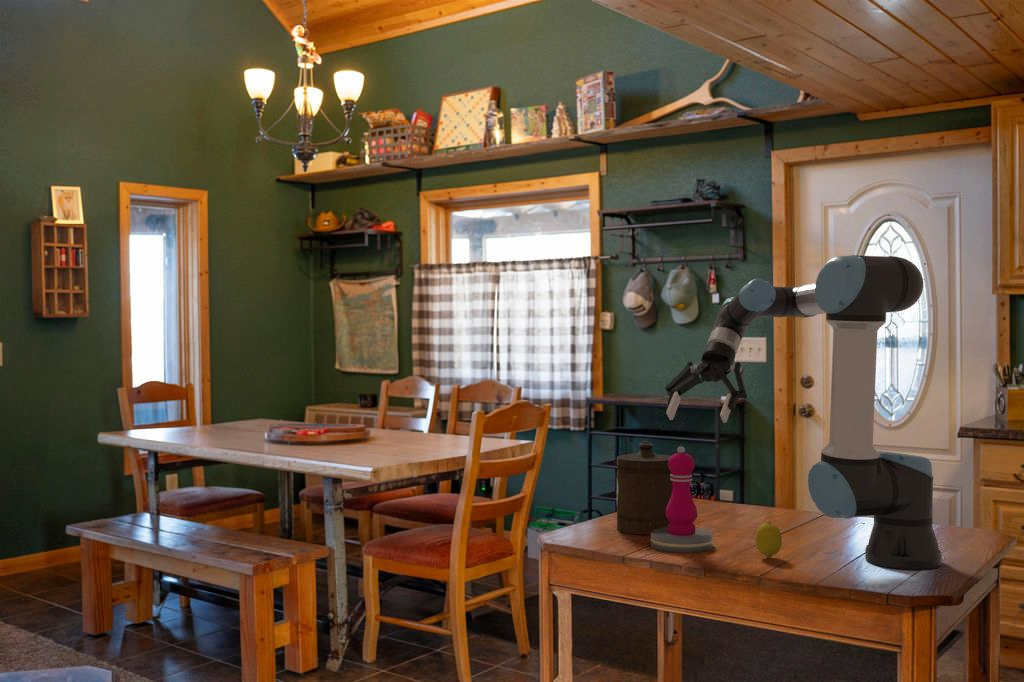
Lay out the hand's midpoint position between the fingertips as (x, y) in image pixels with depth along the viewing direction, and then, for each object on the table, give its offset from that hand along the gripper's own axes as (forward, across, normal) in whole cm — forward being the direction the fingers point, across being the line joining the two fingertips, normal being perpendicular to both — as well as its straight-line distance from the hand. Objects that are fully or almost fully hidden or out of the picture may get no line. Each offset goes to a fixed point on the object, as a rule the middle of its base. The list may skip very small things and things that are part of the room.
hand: (695, 417), depth 229 cm
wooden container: (+16, +17, -26) cm, 35 cm away
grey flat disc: (+25, +1, -16) cm, 30 cm away
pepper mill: (+23, +1, -14) cm, 27 cm away
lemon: (+25, -20, -16) cm, 36 cm away
